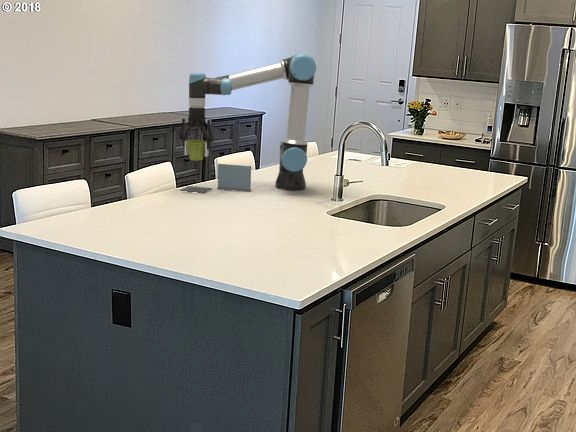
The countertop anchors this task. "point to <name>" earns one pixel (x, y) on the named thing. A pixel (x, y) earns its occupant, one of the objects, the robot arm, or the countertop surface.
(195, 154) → the plant pot
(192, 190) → the mat
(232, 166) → the screen
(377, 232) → the countertop surface
